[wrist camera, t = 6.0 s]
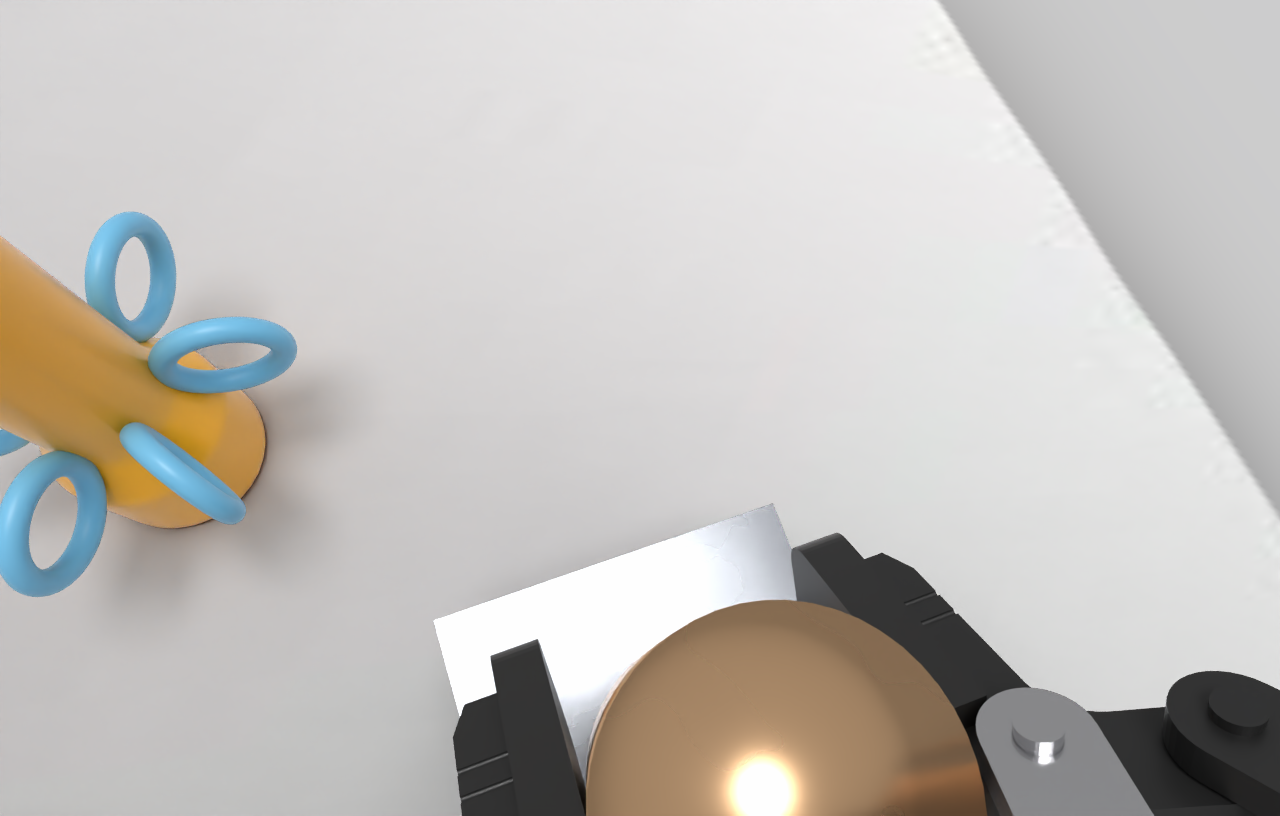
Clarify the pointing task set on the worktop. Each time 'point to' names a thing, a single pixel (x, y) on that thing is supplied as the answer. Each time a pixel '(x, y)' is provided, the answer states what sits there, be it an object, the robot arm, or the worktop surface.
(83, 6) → the worktop surface
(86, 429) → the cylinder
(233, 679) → the worktop surface
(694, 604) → the frame
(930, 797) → the plunger
